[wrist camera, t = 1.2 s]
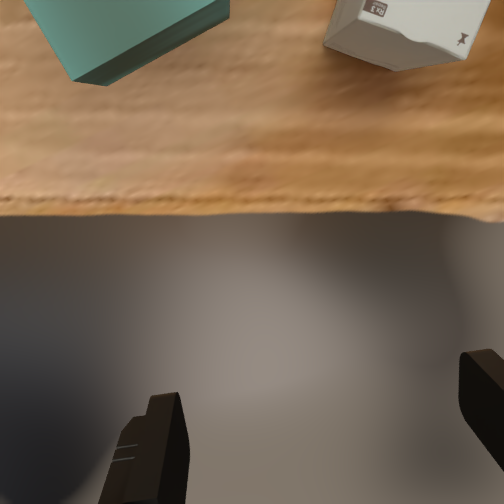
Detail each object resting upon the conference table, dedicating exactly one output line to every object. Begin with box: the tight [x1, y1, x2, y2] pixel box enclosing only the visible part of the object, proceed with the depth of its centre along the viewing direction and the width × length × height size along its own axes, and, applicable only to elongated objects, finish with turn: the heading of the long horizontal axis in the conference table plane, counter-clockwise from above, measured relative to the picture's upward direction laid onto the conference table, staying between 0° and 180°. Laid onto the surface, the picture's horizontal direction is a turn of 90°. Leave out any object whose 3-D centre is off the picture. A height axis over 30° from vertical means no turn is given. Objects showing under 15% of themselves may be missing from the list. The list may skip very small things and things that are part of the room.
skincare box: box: [323, 0, 491, 72], centre depth 35 cm, size 8×6×15 cm
